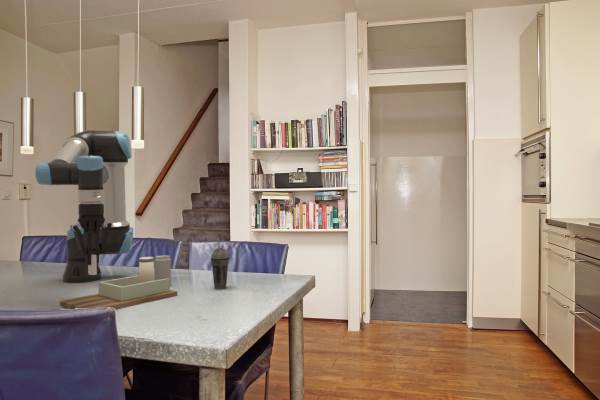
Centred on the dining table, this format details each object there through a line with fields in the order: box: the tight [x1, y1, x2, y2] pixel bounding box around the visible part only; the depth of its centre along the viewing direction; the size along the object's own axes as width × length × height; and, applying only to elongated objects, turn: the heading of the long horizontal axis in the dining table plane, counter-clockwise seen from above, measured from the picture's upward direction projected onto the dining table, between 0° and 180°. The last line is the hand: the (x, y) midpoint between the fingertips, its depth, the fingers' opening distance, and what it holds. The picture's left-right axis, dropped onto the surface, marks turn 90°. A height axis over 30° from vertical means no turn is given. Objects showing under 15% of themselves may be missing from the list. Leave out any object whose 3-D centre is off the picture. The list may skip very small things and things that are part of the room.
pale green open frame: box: [97, 275, 171, 301], centre depth 153 cm, size 15×19×4 cm
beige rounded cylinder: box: [138, 256, 155, 283], centre depth 157 cm, size 5×5×12 cm
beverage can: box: [154, 254, 172, 286], centre depth 172 cm, size 6×6×12 cm
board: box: [59, 289, 178, 310], centre depth 149 cm, size 20×32×3 cm, turn 142°
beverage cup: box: [210, 237, 230, 290], centre depth 168 cm, size 7×7×20 cm
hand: (92, 274), depth 141 cm, fingers closed
